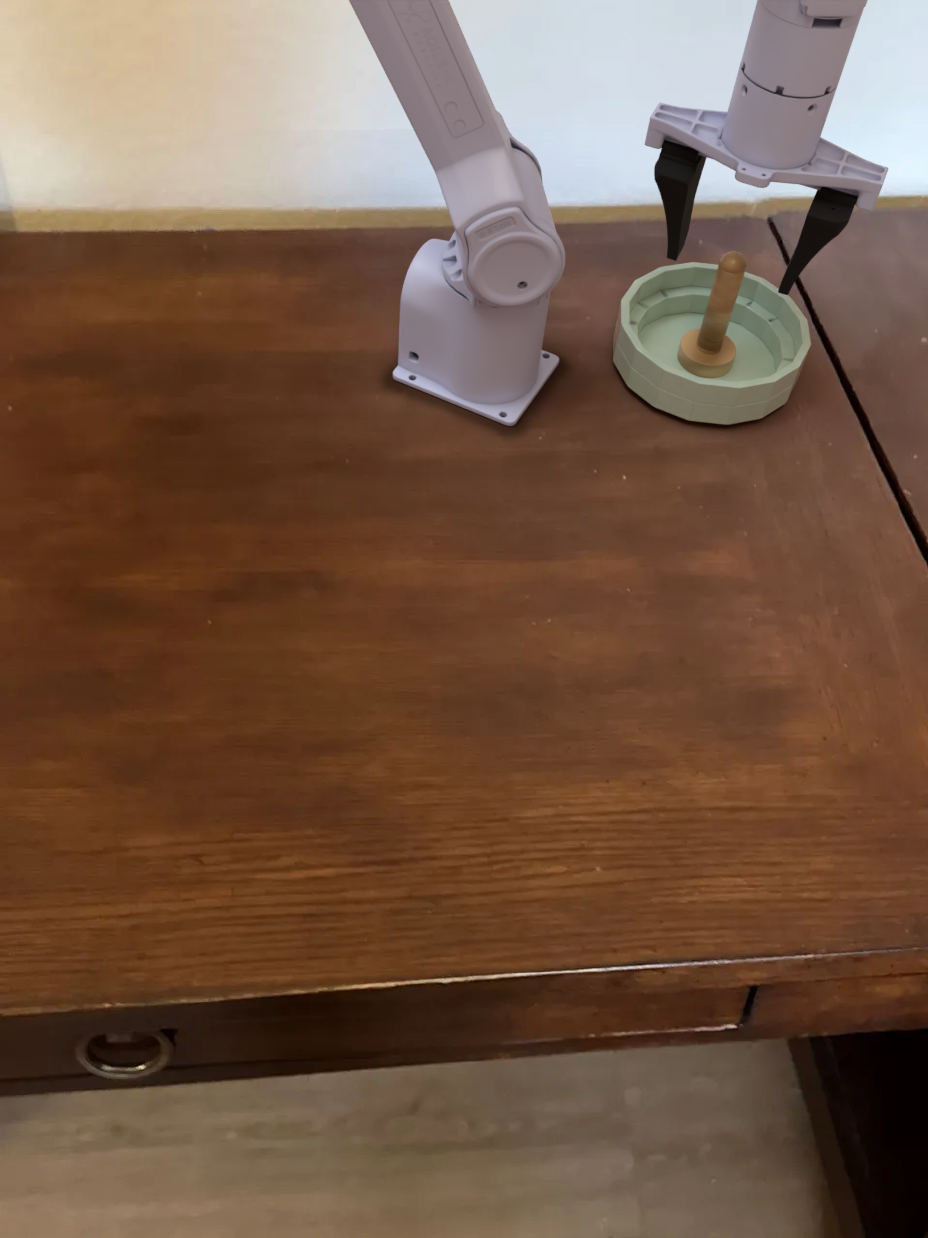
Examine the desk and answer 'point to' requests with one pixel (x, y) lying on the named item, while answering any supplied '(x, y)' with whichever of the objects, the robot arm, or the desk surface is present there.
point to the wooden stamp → (715, 323)
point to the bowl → (677, 305)
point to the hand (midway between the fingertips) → (730, 268)
